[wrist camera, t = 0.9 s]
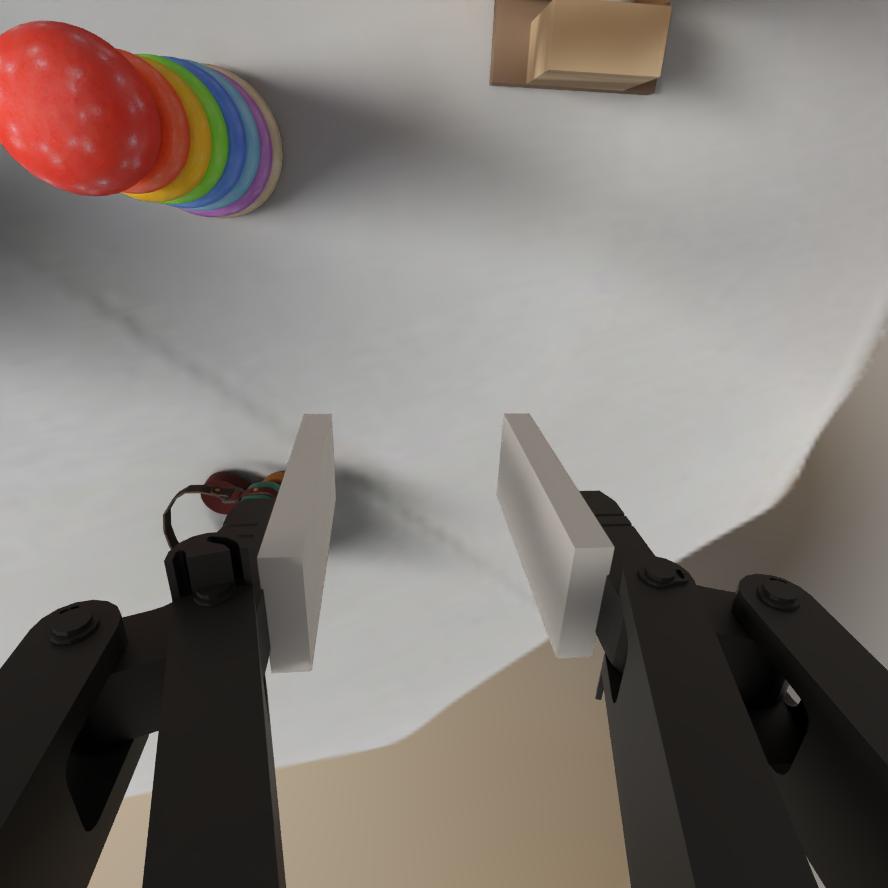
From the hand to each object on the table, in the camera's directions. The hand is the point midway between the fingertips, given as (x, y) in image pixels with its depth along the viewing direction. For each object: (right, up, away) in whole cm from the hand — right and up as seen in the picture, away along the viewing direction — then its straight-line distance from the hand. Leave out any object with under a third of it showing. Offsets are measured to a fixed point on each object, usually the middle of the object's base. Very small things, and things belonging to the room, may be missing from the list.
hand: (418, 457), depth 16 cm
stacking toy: (-13, +18, +18) cm, 29 cm away
